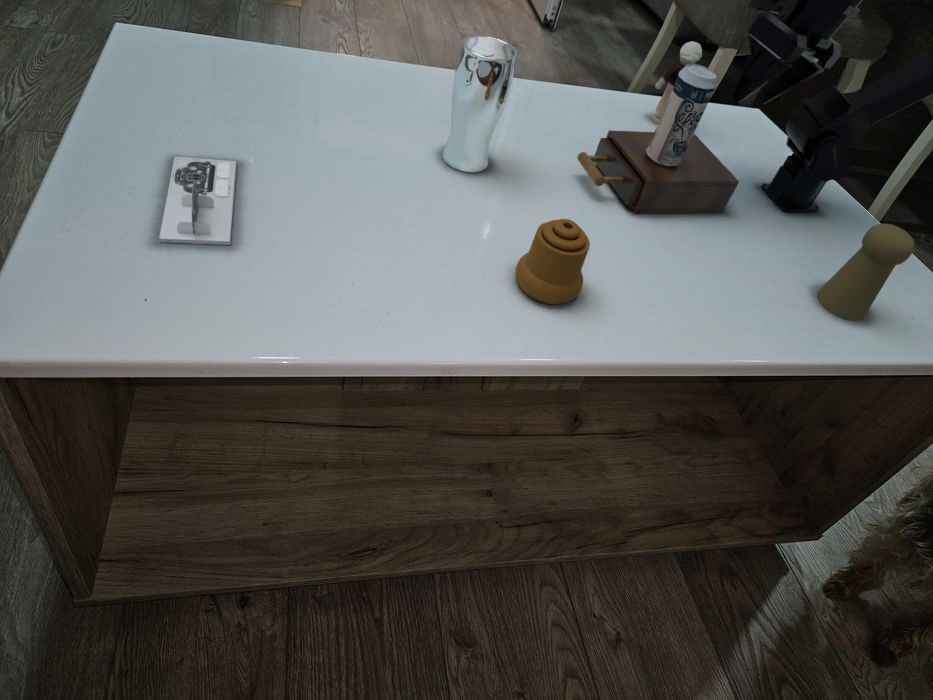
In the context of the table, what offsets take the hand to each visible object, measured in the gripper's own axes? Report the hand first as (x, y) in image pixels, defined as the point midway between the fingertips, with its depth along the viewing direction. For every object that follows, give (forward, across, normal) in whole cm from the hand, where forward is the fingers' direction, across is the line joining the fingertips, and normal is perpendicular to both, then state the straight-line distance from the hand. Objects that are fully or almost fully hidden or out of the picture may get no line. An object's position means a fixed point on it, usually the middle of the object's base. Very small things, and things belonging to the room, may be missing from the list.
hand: (748, 101), depth 90 cm
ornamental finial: (+20, +35, +6) cm, 40 cm away
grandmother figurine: (+13, -13, -13) cm, 23 cm away
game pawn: (+10, +4, +27) cm, 29 cm away
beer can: (+10, +8, -2) cm, 13 cm away
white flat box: (+30, +58, -23) cm, 69 cm away
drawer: (+15, +8, -2) cm, 17 cm away
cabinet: (+15, +4, -1) cm, 15 cm away
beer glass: (+22, +26, -17) cm, 38 cm away
